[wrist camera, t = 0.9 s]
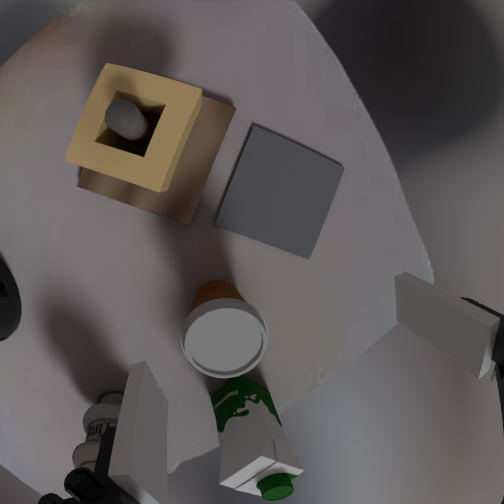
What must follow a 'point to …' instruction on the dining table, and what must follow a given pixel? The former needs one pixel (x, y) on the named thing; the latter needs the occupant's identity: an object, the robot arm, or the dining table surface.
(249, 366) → the disposable coffee cup
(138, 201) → the stand
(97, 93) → the collar
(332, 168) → the mat
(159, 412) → the robot arm
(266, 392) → the milk carton
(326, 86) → the dining table surface
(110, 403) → the apothecary jar
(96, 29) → the dining table surface
